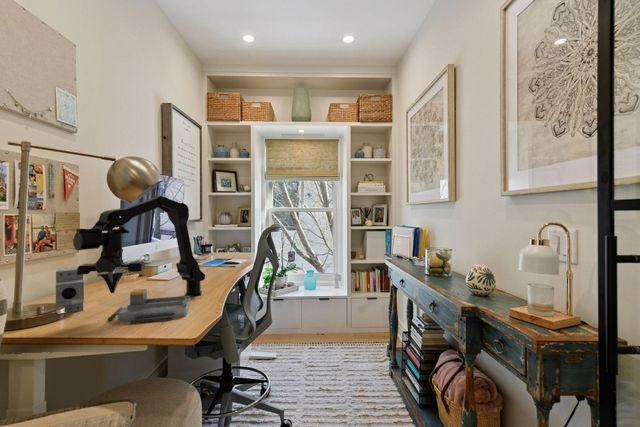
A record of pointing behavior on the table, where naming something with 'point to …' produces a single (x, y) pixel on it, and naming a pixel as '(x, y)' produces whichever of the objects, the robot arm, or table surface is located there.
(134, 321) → the charcoal thin cylinder
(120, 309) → the dark grey rod
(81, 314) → the table surface
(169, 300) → the panel
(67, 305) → the circuit breaker
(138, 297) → the toggle
